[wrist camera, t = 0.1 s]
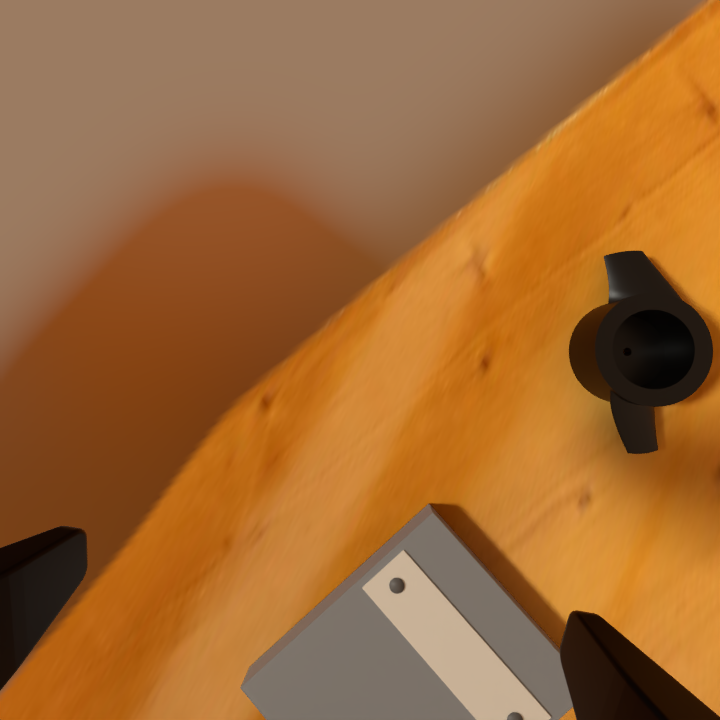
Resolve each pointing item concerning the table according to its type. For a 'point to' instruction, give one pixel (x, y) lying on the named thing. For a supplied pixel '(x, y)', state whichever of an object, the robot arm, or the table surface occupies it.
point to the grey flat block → (413, 643)
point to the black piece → (640, 348)
